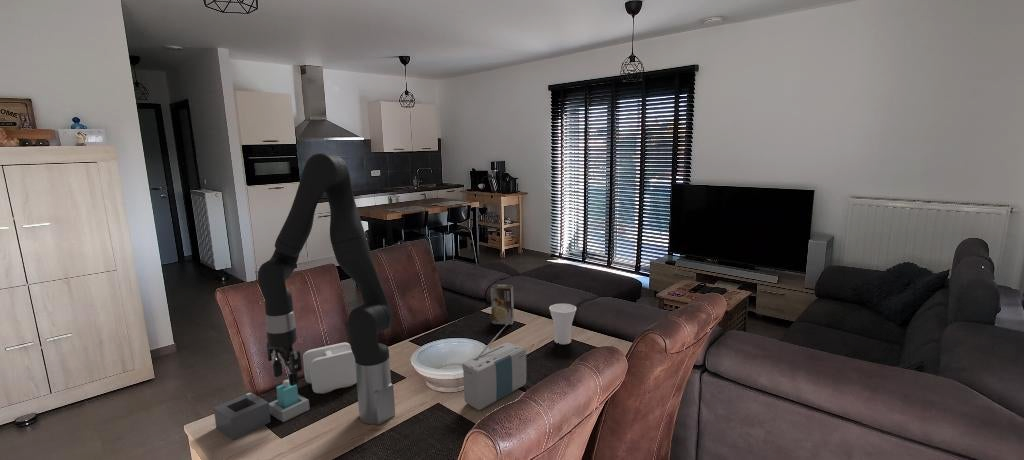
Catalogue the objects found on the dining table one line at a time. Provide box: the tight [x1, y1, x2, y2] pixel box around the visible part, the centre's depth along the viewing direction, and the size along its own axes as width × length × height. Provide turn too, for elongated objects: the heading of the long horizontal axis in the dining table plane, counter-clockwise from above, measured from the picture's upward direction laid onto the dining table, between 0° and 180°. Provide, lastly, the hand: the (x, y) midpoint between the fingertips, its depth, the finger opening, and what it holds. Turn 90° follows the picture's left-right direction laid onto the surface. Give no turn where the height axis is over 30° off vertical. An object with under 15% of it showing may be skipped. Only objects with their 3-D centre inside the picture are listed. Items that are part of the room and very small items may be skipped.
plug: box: [275, 379, 299, 409], centre depth 139 cm, size 4×4×10 cm
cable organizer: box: [302, 342, 357, 394], centre depth 155 cm, size 15×11×12 cm
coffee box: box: [490, 283, 515, 325], centre depth 207 cm, size 9×6×16 cm
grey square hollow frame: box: [269, 394, 310, 423], centre depth 140 cm, size 8×8×3 cm
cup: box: [548, 303, 577, 345], centre depth 185 cm, size 10×10×14 cm
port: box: [213, 392, 272, 440], centre depth 133 cm, size 10×10×6 cm
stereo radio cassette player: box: [461, 324, 527, 411], centre depth 145 cm, size 21×8×20 cm, turn 137°
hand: (286, 380), depth 139 cm, fingers open, 8 cm apart
